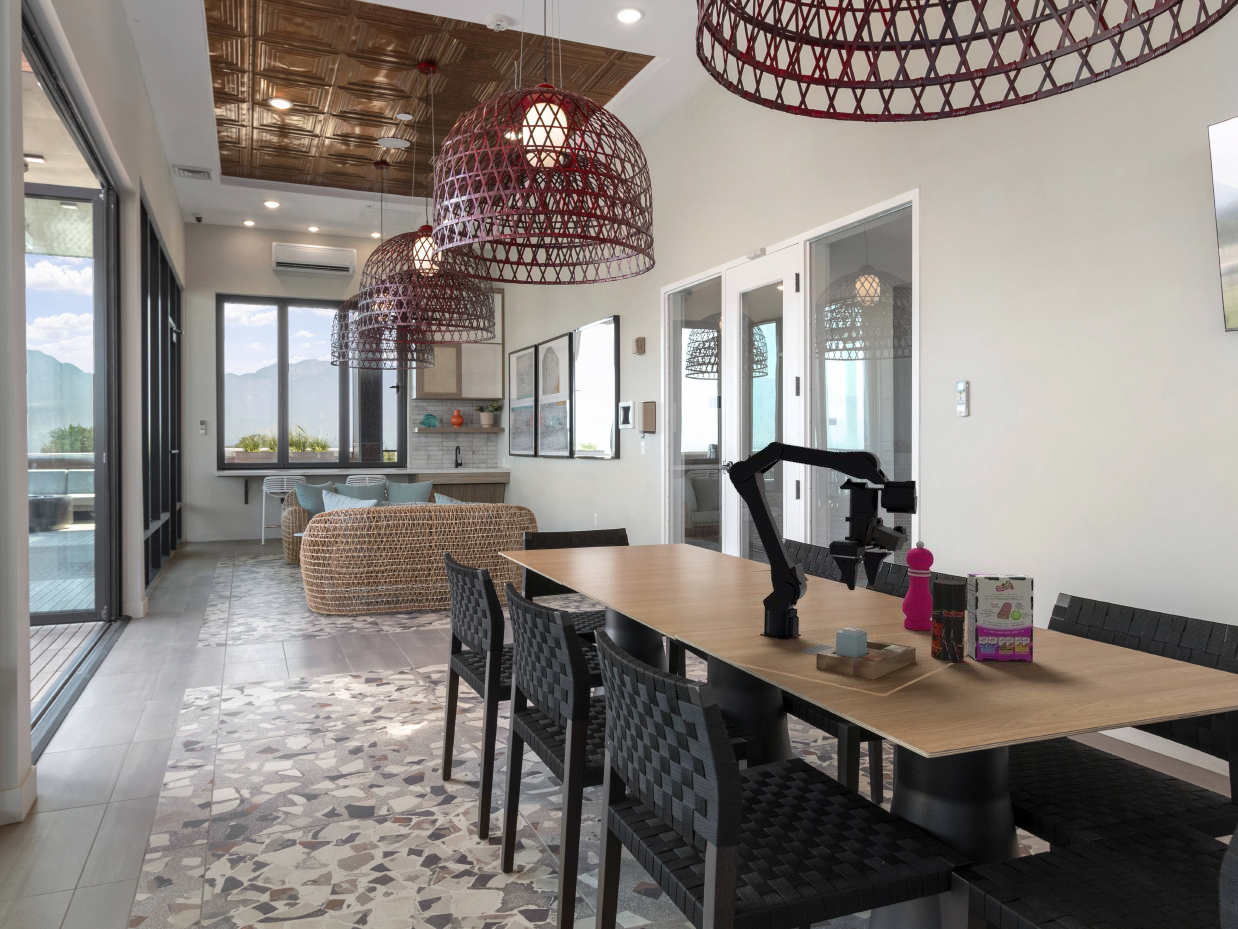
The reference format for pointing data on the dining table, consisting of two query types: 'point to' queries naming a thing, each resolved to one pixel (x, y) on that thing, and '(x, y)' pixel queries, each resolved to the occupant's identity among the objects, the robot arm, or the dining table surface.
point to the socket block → (868, 660)
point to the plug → (851, 642)
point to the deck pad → (816, 649)
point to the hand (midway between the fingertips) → (862, 587)
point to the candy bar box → (1000, 617)
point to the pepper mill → (918, 589)
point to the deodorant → (948, 620)
